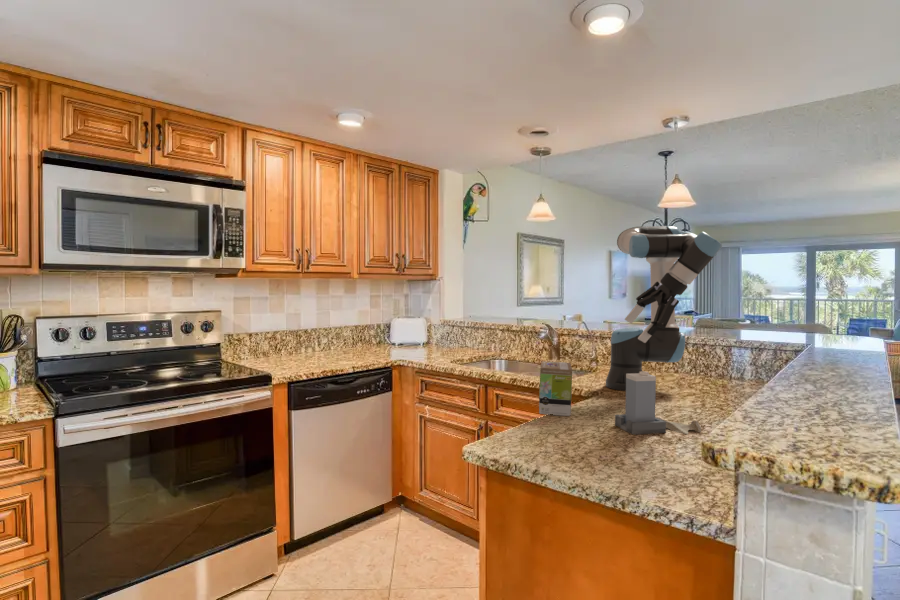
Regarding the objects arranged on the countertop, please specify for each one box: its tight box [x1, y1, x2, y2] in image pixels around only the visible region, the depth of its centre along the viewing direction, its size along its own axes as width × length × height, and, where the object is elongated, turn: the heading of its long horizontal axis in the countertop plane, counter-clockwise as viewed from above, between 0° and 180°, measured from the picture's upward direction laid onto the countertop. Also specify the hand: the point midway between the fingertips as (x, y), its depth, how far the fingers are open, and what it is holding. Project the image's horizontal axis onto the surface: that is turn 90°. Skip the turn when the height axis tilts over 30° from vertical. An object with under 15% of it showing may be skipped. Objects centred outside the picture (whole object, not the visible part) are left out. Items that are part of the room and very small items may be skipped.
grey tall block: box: [625, 370, 657, 424], centre depth 136 cm, size 5×6×15 cm
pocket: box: [614, 414, 667, 435], centre depth 136 cm, size 9×10×3 cm
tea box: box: [538, 360, 573, 417], centre depth 157 cm, size 15×10×15 cm
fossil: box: [656, 416, 702, 435], centre depth 137 cm, size 7×11×3 cm, turn 40°
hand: (634, 330), depth 159 cm, fingers open, 13 cm apart
